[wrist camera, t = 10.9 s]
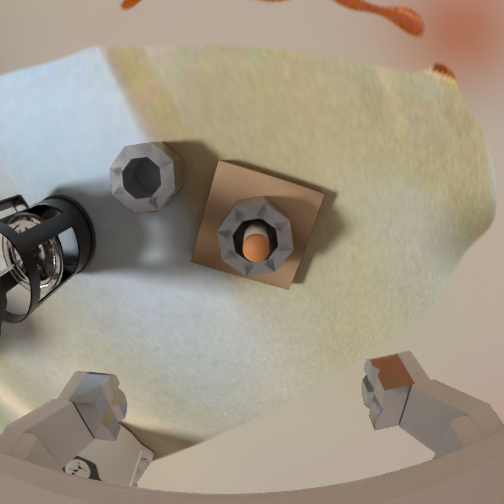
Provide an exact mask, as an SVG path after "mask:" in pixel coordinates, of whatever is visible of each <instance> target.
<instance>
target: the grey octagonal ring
mask: <svg viewBox="0 0 504 504" xmlns="http://www.w3.org/2000/svg"><path fill="white" fill-rule="evenodd" d="M144 157H148V158H149V159H150V160H152V161H153V162H154V163H155V164H156V165H157V166H159V167H160V176H161V186H160V187H159V188H158V189H157V191H156V192H151V193H148V192H146V191H145V190H144V189H143V188H142V187H141V186H139V185H138V184H137V179H136V167H137V166H138V165H139V163H140V162H141V161H142V159H143V158H144ZM110 178H111V187H112V195H113V196H114V197H115V198H116V199H117V200H118V201H119V202H121V203H122V204H123V205H124V206H125V207H126V208H127V209H129V210H130V211H131V212H132V213H135V212H147V211H158V210H160V209H161V208H162V207H164V206H165V205H166V204H168V203H169V201H170V200H171V199H172V198H173V196H174V195H175V194H176V193H177V191H178V190H179V189H180V188H181V187H182V185H183V184H184V180H183V168H182V158H181V157H180V156H179V155H177V154H176V153H175V152H174V151H173V150H171V149H170V148H169V147H168V146H167V145H166V144H164V143H163V142H151V143H143V144H137V145H130V146H125V147H124V149H123V150H122V151H121V153H120V154H119V156H118V157H117V158H116V160H115V161H114V163H113V164H112V165H111V167H110Z"/></svg>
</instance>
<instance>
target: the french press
mask: <svg viewBox="0 0 504 504" xmlns="http://www.w3.org/2000/svg"><path fill="white" fill-rule="evenodd" d="M11 207H14V208H15V210H16V212H17V213H14V214H12V215H10V216H7V217H5V218H2V219H0V233H1V234H2V235H3V237H2V250H3V255H4V259H5V262H6V265H7V267H6V268H5V269H3V270H2V271H0V276H1V275H2V276H1V277H0V327H1V324H2V321H4V322H8V323H19V322H22V321H23V320H24V319H26V318H27V317H28V316H29V315H30V314H31V313H32V312H33V311H34V310H35V309H36V308H37V307H39V306H40V305H41V304H42V303H43V302H44V301H45V300H46V299H47V298H49V297H50V296H51V295H52V294H53V293H54V292H55V291H56V290H58V289H59V288H60V287H61V286H62V285H63V284H64V283H66V282H67V281H68V280H69V279H70V278H71V277H73V276H74V275H75V274H77V273H80V272H81V271H82V270H84V269H85V268H86V267H87V266H88V265H89V263H90V262H91V260H92V258H93V255H94V251H95V243H96V240H95V232H94V228H93V224H92V222H91V220H90V217H89V216H88V214H87V212H86V211H85V209H84V208H83V207H82V206H81V205H80V204H79V203H78V202H76V201H75V200H74V199H72V198H69V197H67V196H63V195H53V196H50V197H47V198H45V199H44V200H42V201H41V202H39V203H36V204H34V205H32V206H30V207H29V206H28V204H27V203H26V201H25V200H24V198H23V197H22V196H21V195H16V196H13V197H10V198H7V199H4V200H1V201H0V211H3V210H5V209H8V208H11ZM50 208H55V209H57V210H58V211H60V212H61V214H59V215H57V216H54V217H52V218H50V219H48V220H45V219H43V218H42V215H43V214H44V213H45V212H46V211H47V210H48V209H50ZM71 227H72V228H73V230H74V232H75V235H76V238H77V242H78V250H79V253H78V260H77V261H76V262H75V263H73V264H70V265H64V255H63V250H62V246H61V242H60V240H59V237H58V234H60V233H62V232H63V231H65V230H67V229H69V228H71ZM7 271H8V272H7ZM6 272H7V273H6ZM4 273H5V274H4ZM3 274H4V275H3ZM17 284H20V285H21V286H22V287H24V288H25V289H27V290H28V291H31V301H30V307H29V310H28V312H27V313H26V314H23V315H17V314H12V313H10V312H8V311H6V306H7V298H6V293H7V292H8V291H9V290H11V289H12V288H13V287H15V286H16V285H17ZM48 292H49V293H48ZM45 293H48V294H47V295H45V296H44V297H43V298H42V299H41V300H40V301H39V299H40V294H45ZM0 335H1V332H0Z"/></svg>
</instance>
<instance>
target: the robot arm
mask: <svg viewBox="0 0 504 504" xmlns="http://www.w3.org/2000/svg"><path fill="white" fill-rule="evenodd" d="M364 370H365V372H366V376H365V377H364V378H363V380H362V397H363V401H364V404H365V406H366V407H368V408H369V409H370V414H369V417H370V419H371V422H372V424H373V427H374V430H378V429H383V428H388V427H393V426H397V425H399V427H401V428H402V429H403V430H405V431H406V432H408V433H409V434H410V435H412V436H413V437H414V438H416V439H417V440H418V441H420V442H421V443H422V444H424V445H425V446H426V447H428V448H429V449H431V450H432V451H433V452H435V453H436V454H435V456H434V457H433V459H432V460H430V461H427V462H424V463H421V464H418V465H414V466H412V467H408V468H405V469H401V470H398V471H394V472H390V473H386V474H383V475H379V476H374V477H370V478H366V479H361V480H357V481H352V482H347V483H341V484H336V485H330V486H324V487H317V488H310V489H302V490H293V491H282V492H269V493H253V494H252V493H250V494H202V493H184V492H171V491H160V490H152V489H144V488H137V481H138V480H139V479H140V477H141V476H142V474H143V473H144V471H145V470H146V468H147V467H148V465H149V464H150V463H151V461H152V460H153V457H154V453H153V452H152V451H150V450H149V449H148V448H146V447H145V446H143V445H142V444H141V443H140V442H139V441H138V440H137V439H136V438H135V437H134V435H133V434H132V433H130V432H129V431H128V430H127V429H126V428H124V427H123V426H122V425H120V424H119V422H120V421H121V420H123V419H124V418H125V415H126V412H127V401H126V397H125V395H124V393H123V392H122V391H121V390H120V389H119V388H118V386H119V381H118V378H117V376H116V375H114V374H107V373H96V372H83V371H77V372H74V374H73V375H72V377H71V378H70V380H69V381H68V383H67V385H66V386H65V388H64V389H63V391H62V392H61V394H60V395H59V397H58V399H53V400H51V401H49V402H48V403H46V404H44V405H42V406H41V407H39V408H37V409H35V410H34V411H32V412H30V413H28V414H27V415H25V416H23V417H21V418H20V419H18V420H16V421H14V422H13V423H11V424H9V425H7V427H6V428H5V430H4V431H3V433H2V434H1V436H0V504H504V424H503V422H502V421H501V419H500V418H499V417H498V415H497V414H496V412H495V411H494V410H493V408H492V407H491V405H490V404H488V403H485V402H483V401H481V400H479V399H476V398H474V397H472V396H470V395H468V394H465V393H463V392H461V391H459V390H457V389H454V388H452V387H450V386H448V385H446V384H443V383H441V382H439V381H437V380H434V379H433V380H430V379H429V377H428V376H427V375H426V373H425V372H424V370H423V369H422V367H421V365H420V364H419V363H418V361H417V360H416V358H415V357H414V355H413V354H412V352H410V351H406V352H401V353H396V354H393V355H388V356H383V357H378V358H372V359H367V360H366V362H365V367H364Z"/></svg>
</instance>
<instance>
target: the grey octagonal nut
mask: <svg viewBox="0 0 504 504" xmlns="http://www.w3.org/2000/svg"><path fill="white" fill-rule="evenodd" d="M259 218H262V219H263V220H264V221H266V222H267V223H269V224H270V225H271V226H273V227H274V228H275V233H276V235H275V236H274V237H273V238H272V240H271V241H270V242H269V248H270V251H269V255H268V256H267V258H266V259H264V260H263V261H260V262H252V261H250V260H248V259H247V258H246V257H245V256H244V254H243V244H242V243H241V242H240V241H238V240H237V235H236V229H237V228H238V227H239V225H240V224H241V223H242V221H246V220H252V219H259ZM217 236H218V242H219V247H220V252H221V256H222V260H223V261H224V262H226V263H227V264H229V265H230V266H232V267H233V268H235V269H236V270H238V271H239V272H241V273H242V274H244V275H245V276H252V275H259V274H265V273H272V272H276V271H277V269H278V268H279V267H280V266H281V264H282V263H283V262H284V261H285V259H286V258H287V257H288V256H289V255H290V253H291V252H292V251H293V250H294V249H293V242H292V234H291V226H290V220H289V218H288V215H287V213H286V211H284V210H283V209H281V208H280V207H279V206H277V205H276V204H275V203H273V202H272V201H270V200H269V199H268V198H266V197H265V196H258V197H252V198H245V199H239V200H236V201H235V203H234V204H233V205H232V207H231V208H230V210H229V211H228V212H227V214H226V215H225V216H224V218H223V219H222V221H221V222H220V225H219V227H218V230H217Z"/></svg>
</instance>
